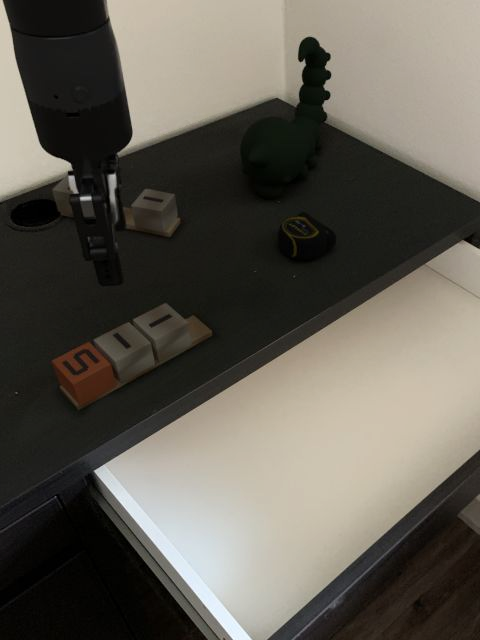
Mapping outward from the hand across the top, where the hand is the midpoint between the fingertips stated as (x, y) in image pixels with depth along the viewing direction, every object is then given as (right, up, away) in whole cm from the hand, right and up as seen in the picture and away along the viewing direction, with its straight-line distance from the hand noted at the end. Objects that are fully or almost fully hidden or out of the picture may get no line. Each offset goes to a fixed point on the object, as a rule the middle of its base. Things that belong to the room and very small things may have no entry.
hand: (113, 255), depth 63 cm
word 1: (-8, +12, +31) cm, 35 cm away
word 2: (-1, -10, +13) cm, 16 cm away
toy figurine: (+16, +21, +40) cm, 48 cm away
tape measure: (+19, +7, +28) cm, 35 cm away
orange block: (-5, -12, +9) cm, 16 cm away
